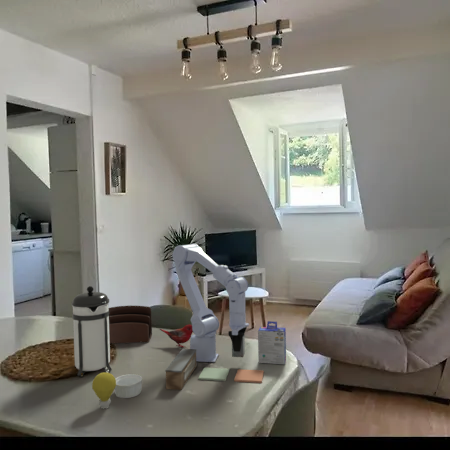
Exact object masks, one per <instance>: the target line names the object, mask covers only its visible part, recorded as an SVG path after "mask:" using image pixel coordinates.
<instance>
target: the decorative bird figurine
mask: <svg viewBox="0 0 450 450" xmlns="http://www.w3.org/2000/svg"><path fill="white" fill-rule="evenodd" d="M159 330H160V331H161V332H163V333H165V334H166V335H167V336H168V337H169V338H170V339H171V340H172V341H174V342H175V343H176V344H175V346H177V347H179V348H182V349H184V348H185V346H184V345H182V344H186V343H187V342H188V341H190V340H191V336H192V335H193V330H192V324H190V323H189V324H185V325H184V326H183V327H182V328H177V329H176V328H175V329H173V330H170V331H168V330H165V329H162V328H159Z"/></svg>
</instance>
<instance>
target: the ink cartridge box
mask: <svg viewBox="0 0 450 450" xmlns="http://www.w3.org/2000/svg"><path fill="white" fill-rule="evenodd" d="M270 324H274V325H270ZM286 331H287V330H286V327H279V326H278V321H269V320H267V322H266V326H259V328H258V331H257V339H258V340H257V341H258V342H257V345H258V346H257V347H258V350H257V351H258V356H257V357H258V364H269V365H270V364H271V365H285V364H286V361H287V336H286V335H287V332H286Z"/></svg>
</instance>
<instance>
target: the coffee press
mask: <svg viewBox="0 0 450 450" xmlns="http://www.w3.org/2000/svg"><path fill="white" fill-rule="evenodd" d="M86 291H87V292H82V293H79V294H77V295H76V296H74V298H73V299H72V301H71V307H72V316H71V317H72V319H73V321H72V323H73V325H72V326H73V327H72V328H73V350H74V351H73V352H74V368H75V367H76V368H75V369H77V370H78V371H77V373H76V374H77V377H78V376H80V377H79V378H82V377H81V373H83V376H84V375H85V373H86V372H94V371H99V370H104V371H105V372H107V371H109V372H108V373H110V372H111V371H112V366H110V362H111V354H110V353H111V347H110V346H111V345H110V344H111V343H110V341H109V309H108V308H109V303H110V299H109V297H108V295H107V294H105V293H104V292H99V291H94V287H93V286H91V285H90V286H88V287H87V288H86Z"/></svg>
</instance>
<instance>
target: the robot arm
mask: <svg viewBox="0 0 450 450" xmlns="http://www.w3.org/2000/svg"><path fill="white" fill-rule="evenodd" d="M171 257H172V259H173V262H174V264H175V266H174V267H175V272H176V274H177V277H178V281H179V282H180V284H181V287H182V289H183V292H184V294H185V296H186V299H187V301H188V304H189V306H190V308H191V312H192V316H191V317H190V322H191V325H192V330H193V332H192V335H191V338H190V339H189V349H196V362H202V363H203V362H204V363H215V362H216V360H217V359H218V357H219V353H217V345H216V343H217V339H216V337H217V336H216V334H217V331H218V329H219V328H220V320H219V319H218V317H217V316H216V315H215V314H214V311H213V310H212V309H210V308H208V306H207V305H206V303H205V300H204V298H203V296H202V294H201V293H202V292H201V290H200V288H199V286H198V284H197V281H196V278H195V277H194V273H193V271H192V269H193V266H194V265H195V263H196V262H197V263H198V264H200V265H201V266H203V267H205V269H207V270H208V271H209V272H211V273H212V277H213V279H215V280H216V281H217V282H218V283H220V284H221V285H222V286H224V287H225V290H226V292H227V295H228V300H229V301H228V302H229V305H228V306H229V307H228V308H229V309H228V310H229V323H228V326H229V328H230V329H231V330H229V331H228V333H227V334H228V336H229V339H230V340H231V346H232V345H233V349H234V351H235V352H240V349H241V343H242V338H243V335H244V334H245V332H246V330H247V329H248V327H249V326H250V323H248V322H246V321H247V320H246V319H247V318H246V317H247V316H246V313H247V312H246V291H247V290H248V289H249V282H248V280H247V279H246V277H244V276H238V274H237V273H234V272H233V271H231V269H229V266H228V265H226V264H225V265H224V264H218V263H217V262H215V261H214V260H213V259H212V258H211V257H210V256H209V255H208V254H206V253H205V252H204V251H203V248H202V247H200V246H199V245H198V244H197V243H190V244H182V245H181V244H179V245H176V246H175V248H174V249H173V252H172V255H171Z"/></svg>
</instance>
